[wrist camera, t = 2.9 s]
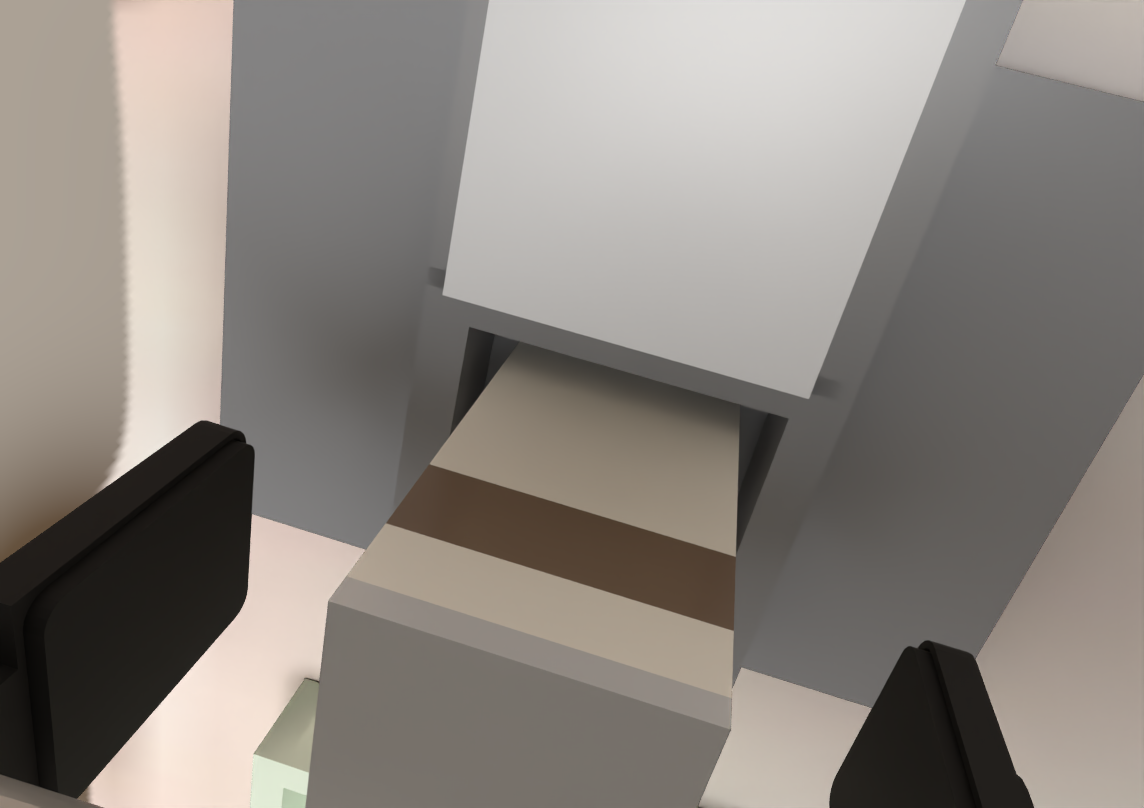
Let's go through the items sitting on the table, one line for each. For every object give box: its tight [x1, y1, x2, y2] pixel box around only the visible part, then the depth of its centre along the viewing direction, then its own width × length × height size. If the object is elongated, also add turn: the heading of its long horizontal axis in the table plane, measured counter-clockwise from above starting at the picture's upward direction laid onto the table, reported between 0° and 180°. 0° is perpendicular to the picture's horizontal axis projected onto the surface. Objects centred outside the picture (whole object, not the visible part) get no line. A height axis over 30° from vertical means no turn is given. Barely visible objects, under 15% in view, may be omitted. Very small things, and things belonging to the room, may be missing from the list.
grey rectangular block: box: [305, 342, 740, 808], centre depth 12 cm, size 4×4×8 cm
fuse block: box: [220, 0, 1144, 708], centre depth 12 cm, size 16×14×7 cm
